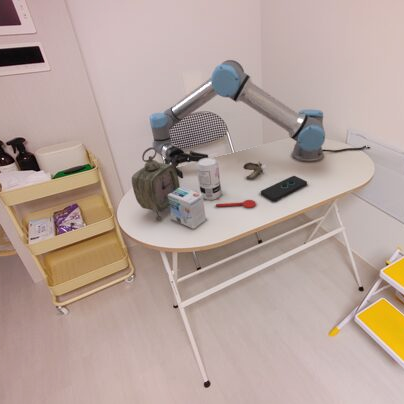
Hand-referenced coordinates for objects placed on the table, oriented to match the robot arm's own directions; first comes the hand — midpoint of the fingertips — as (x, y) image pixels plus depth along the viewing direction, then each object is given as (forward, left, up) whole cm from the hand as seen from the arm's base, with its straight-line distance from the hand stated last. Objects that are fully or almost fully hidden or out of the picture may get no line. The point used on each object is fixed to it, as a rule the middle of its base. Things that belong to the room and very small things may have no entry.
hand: (197, 170), depth 124 cm
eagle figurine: (-24, -8, -8) cm, 27 cm away
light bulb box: (+2, +23, -8) cm, 25 cm away
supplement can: (-5, +7, -8) cm, 12 cm away
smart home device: (-36, +6, -8) cm, 37 cm away
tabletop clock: (+13, +16, -8) cm, 22 cm away
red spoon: (-15, +16, -8) cm, 23 cm away
